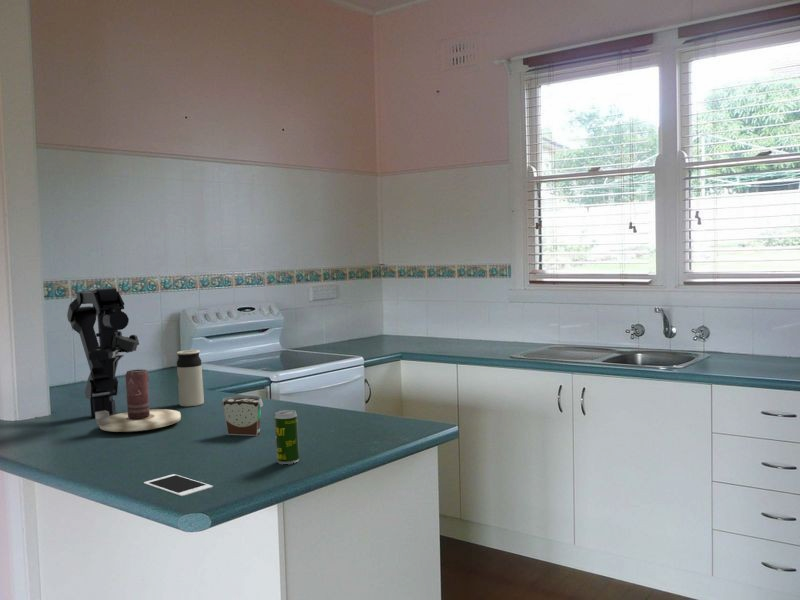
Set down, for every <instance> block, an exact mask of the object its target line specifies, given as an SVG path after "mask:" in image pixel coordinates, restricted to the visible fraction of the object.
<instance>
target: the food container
mask: <svg viewBox="0 0 800 600" xmlns="http://www.w3.org/2000/svg"><path fill="white" fill-rule="evenodd" d="M220 406H221V407H223V415H224V421H225V426H226V432H227V433H226V434H227V436H249V437H250V436H251V437H254V436H255V437H258V436H259V435H260V434H261V409H262V407H263V406H264V403H263V400H262V397H261V396H257V395H236V396H228V397H224V398H222V401H221V403H220Z"/></svg>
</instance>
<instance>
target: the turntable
mask: <svg viewBox="0 0 800 600" xmlns="http://www.w3.org/2000/svg"><path fill="white" fill-rule="evenodd" d="M149 411H150V415H149V417H147V418H143V419H130V418H129V417H128V411H126V412H121V413H115V414H113V415H111V416H109V412H108V411H106V410H105V411H99V412H95V417H94V418H95V425H97V426H99V429H100V430H102V431H106V432H114V433H115V432H116V433H118V432H121V433H130V432H129V431H140V432H142V431H141V430H147V431H150V430H149V429H153V430H156V429H155V428H157V429H160V428H163V427H167V426H170V425H174V424H176V423H178V422H179V421H181V420H182V415H181V414H182V413H181V412H180V411H179V410H174V409H167V408H164V409H163V408H162V409H161V408H155V409H149Z"/></svg>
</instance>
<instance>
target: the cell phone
mask: <svg viewBox="0 0 800 600" xmlns="http://www.w3.org/2000/svg"><path fill="white" fill-rule="evenodd" d="M143 484H144V485H147V486H149V487H153V488H156V489H158V490H162V491H164V492H168V493H171V494H172V495H176V496H179V497H184V496H188V495H191V494H195V493H198V492H201V491H204V490H205V491H206V490H208V489H212V488H213V487H214V485H211V484H208V483H205V482H202V481H198V480H195V479H191V478H188V477H185V476H182V475H179V474H175V473H172V474H169V475H166V476H162V477H158V478H154V479H151V480H147V481H144V482H143Z"/></svg>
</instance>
